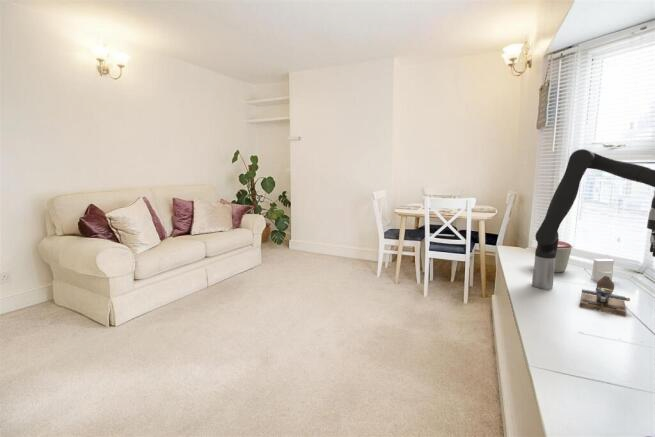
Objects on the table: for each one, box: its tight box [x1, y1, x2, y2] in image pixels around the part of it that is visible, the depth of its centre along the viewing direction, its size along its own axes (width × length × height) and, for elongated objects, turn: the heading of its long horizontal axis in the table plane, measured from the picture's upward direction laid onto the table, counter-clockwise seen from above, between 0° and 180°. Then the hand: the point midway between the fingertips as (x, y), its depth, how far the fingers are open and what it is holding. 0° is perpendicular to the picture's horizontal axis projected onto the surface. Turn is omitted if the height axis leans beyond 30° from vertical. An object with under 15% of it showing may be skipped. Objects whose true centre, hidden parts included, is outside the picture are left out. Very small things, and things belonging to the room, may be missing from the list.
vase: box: [596, 276, 615, 294], centre depth 165 cm, size 7×7×9 cm
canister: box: [537, 238, 574, 273], centre depth 200 cm, size 18×18×21 cm
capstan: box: [581, 287, 631, 303], centre depth 150 cm, size 17×16×6 cm
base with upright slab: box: [591, 258, 615, 283], centre depth 182 cm, size 9×9×12 cm
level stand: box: [579, 292, 627, 317], centre depth 151 cm, size 16×14×3 cm
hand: (654, 254), depth 143 cm, fingers open, 8 cm apart
